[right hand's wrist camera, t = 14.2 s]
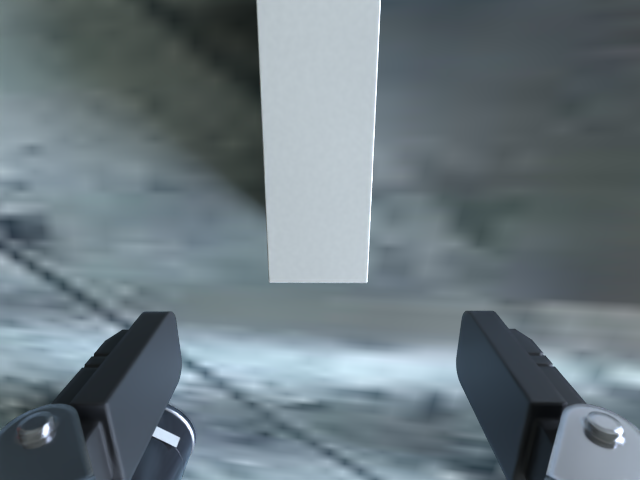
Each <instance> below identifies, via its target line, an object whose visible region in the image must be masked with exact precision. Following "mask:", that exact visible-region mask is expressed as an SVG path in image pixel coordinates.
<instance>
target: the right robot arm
mask: <svg viewBox="0 0 640 480" xmlns="http://www.w3.org/2000/svg"><path fill="white" fill-rule="evenodd" d="M181 368H182V359H181V351H180V344H179V337H178V330H177V323H176V317H175V315H174V313H173V312H143V313H142V314H141V315H140V316H139V317H138V319H137V320H136V321H135V322H134V324H133V325H132V326H131V327H130V329H129V330H121V331H120V332H118V333H117V334H115V335H114V336H112V337H110V338H109V339H107V340H106V341H105V342H104V343H103V344H102V345H101V346H100V348H99V349H98V350H97V351H96V352H95V353H94V357H91V358H90V359H89V360H88V361H87V363H86V364H85V367H84V368H81V370H80V371H79V372H78V373H77V374H76V375H75V377H74V378H73V379H72V380H71V381H70V382H69V383H68V385H67V386H66V387H65V388H64V389H63V390H62V392H61V393H60V394H59V395H58V396H57V397H56V399H55V400H54V401H53V402H52V403H51V404H49V405H44V406H41V407H38V408H34V409H32V410H30V411H27V412H25V413H23V414H21V415H20V416H18V417H16V418H15V419H13V420H12V421H11V422H9V423H8V424H7V425H6V426H4V427H3V428H2V429H1V431H0V480H181V479H182V476H183V474H184V471H185V468H186V465H187V462H188V460H189V457H190V455H191V453H192V451H193V448H194V446H195V441H196V435H195V430H194V427H193V425H192V423H191V422H190V420H189V419H188V418H187V417H186V416H185V415H184V414H183V413H182V412H180V411H179V410H178V409H176V408H174V407H172V406H170V405H168V402H169V400H170V398H171V396H172V394H173V392H174V390H175V388H176V386H177V384H178V382H179V379H180V375H181ZM456 368H457V375H458V378H459V381H460V383H461V386H462V388H463V390H464V392H465V394H466V396H467V398H468V400H469V402H470V404H471V406H472V408H473V410H474V413H475V415H476V417H477V419H478V421H479V423H480V425H481V427H482V429H483V431H484V433H485V435H486V437H487V440H488V442H489V444H490V446H491V448H492V450H493V452H494V454H495V456H496V458H497V460H498V462H499V464H500V466H501V469H502V471H503V473H504V475H505V477H506V479H507V480H640V431H639V429H638V428H637V427H636V426H634V425H633V424H632V423H631V422H629V421H628V420H627V419H625V418H624V417H622V416H620V415H619V414H617V413H615V412H613V411H610V410H608V409H606V408H602V407H599V406H596V405H591V404H586V403H585V401H584V400H583V399H582V398H581V397H580V395H579V394H578V393H577V392H576V391H575V390H574V388H573V387H572V386H571V385H570V384H569V383H568V381H567V380H566V379H565V378H564V377H563V376H562V374H561V373H560V372H559V371H558V370H557V369H556V367H553V366H552V363H551V362H550V360H549V359H548V358H547V357H546V356H544V355H543V352H542V351H541V350H540V349H539V348H538V346H537V345H536V344H535V343H534V342H533V341H532V340H531V339H530V338H528V337H527V336H525V335H524V334H522V333H520V332H519V331H517V330H516V329H508V327H507V326H506V325H505V324H504V322H503V321H502V320H501V319H500V317H499V316H498V315H497V314H496V312H494V311H465V312H464V313H463V316H462V321H461V328H460V335H459V343H458V350H457V357H456Z"/></svg>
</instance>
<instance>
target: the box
mask: <svg viewBox="0 0 640 480" xmlns="http://www.w3.org/2000/svg"><path fill="white" fill-rule="evenodd" d="M380 3H381V0H256V8H257V30H258V52H259V74H260V96H261V118H262V139H263V161H264V183H265V205H266V227H267V249H268V271H269V282H270V283H367V277H368V256H369V235H370V214H371V193H372V172H373V151H374V130H375V109H376V88H377V66H378V45H379V24H380Z"/></svg>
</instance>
